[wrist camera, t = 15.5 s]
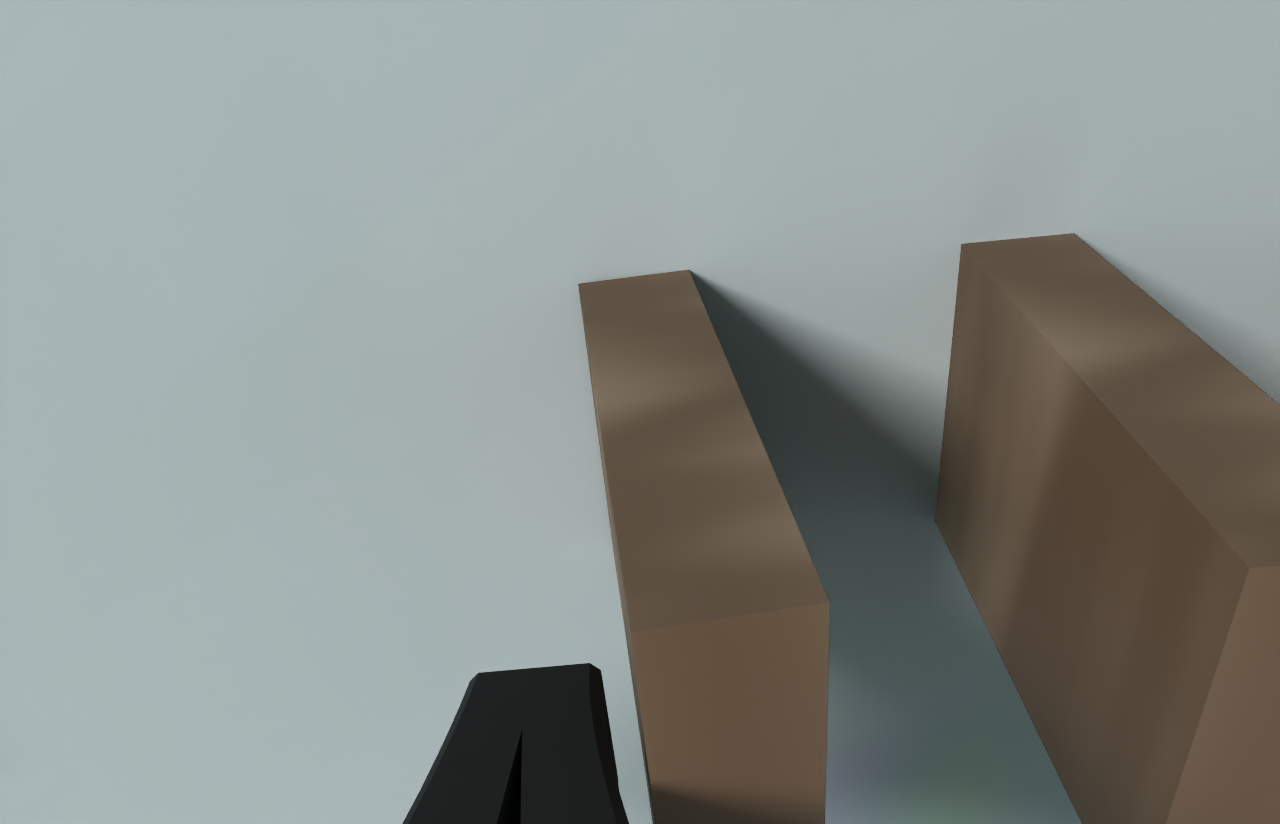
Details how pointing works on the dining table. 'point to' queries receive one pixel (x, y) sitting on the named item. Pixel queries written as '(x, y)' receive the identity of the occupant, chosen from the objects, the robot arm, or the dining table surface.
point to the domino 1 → (705, 568)
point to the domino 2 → (1117, 533)
